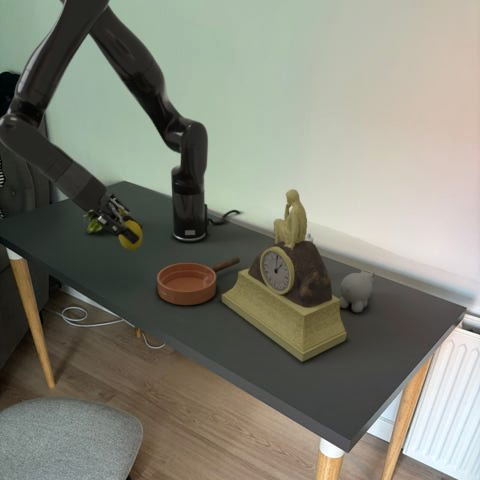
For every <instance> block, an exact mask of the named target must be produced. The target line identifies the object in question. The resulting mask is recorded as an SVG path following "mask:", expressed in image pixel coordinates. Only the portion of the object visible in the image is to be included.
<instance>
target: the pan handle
mask: <svg viewBox="0 0 480 480" xmlns="http://www.w3.org/2000/svg"><path fill="white" fill-rule="evenodd" d="M240 262H241V258H240V257H238V256H234V257H232V258H230V259H227V260H224V261H222V262H220V263H217V264H215V265H212V266H210V267H209V268H211V269H212V270H213V271H214V272H215V273H219V272H221V271H224V270H225V269H228V268H230V267H233V266H236V265H237V264H239V263H240ZM206 272H207V274H208V273H209V272H208V271H206Z"/></svg>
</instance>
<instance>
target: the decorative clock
mask: <svg viewBox="0 0 480 480" xmlns="http://www.w3.org/2000/svg"><path fill="white" fill-rule="evenodd" d="M285 196H286V205H285V210H284V214H283V215H284V216H283V217H284V219H283V218H276V219H274V220H273V236H274V240H275V242H274V243H275V244H273V245H272V246H271V247H269V248H266V249H263V251H262V252H260V253H259V254H258V255H256V257H255V258H254V260H253V261H252V263H251V264H250V267H249V268H246V269H242V270H240V271H238V274H237V280H236V283H235V284H234V286H233V287H232V288H231V289H229V290H228V291H226V292H224V293H221V302H222V303H223V304H224V305H226V306H227V307H228V308H230V309H231V310H232V311H234V312H235V313H236V314H237V315H238V316H240V317H242V319H244V320H245V321H246V322H248V323H250V324H251V325H252V326H254V328H255V329H258V330H259V331H260V332H261V333H263V334H264V335H266V336H267V337H268V338H269V339H270V340H272V341H273V342H275V343H276V344H278V345H279V346H280V347H282V348H283V349H284V350H285V351H286V352H288V353H289V354H291V355H292V356H293V357H294V358H296V359H297V360H299V361H300V362H302V363H303V362H305V361H308V360H309V359H311V358H313V357H315V356H318V355H319V354H321V353H323V352H325V351H327V350H329V349H331V348H333V347H336V346H337V345H339V344H341V343H343V342H345V341H346V339H347V335H348V334H347V333H348V332H347V331H346V328H345V325H344V324H343V321H342V318H341V311H340V308H341V307H340V298H339V297H337V296H335V295H334V294H333V291H332V281H331V279H330V276H329V274H328V270H327V267H326V264H325V262H324V260H323V258H322V256H321V254H320V252H319V249H317V248H318V247H317V246H316V244H315V243H314V242H313V243H312V242H310V241H305V237H307V233H308V231H307V230H308V218H307V212H306V210H305V207H304V205H303V204H302V202H301V200H300V193H299V191H298V190H297V189H294V188H293V189H289V190H288V191H286V192H285ZM290 208H291V209H290Z"/></svg>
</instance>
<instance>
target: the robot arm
mask: <svg viewBox="0 0 480 480" xmlns="http://www.w3.org/2000/svg"><path fill="white" fill-rule="evenodd" d="M110 1H111V0H59V2H60V3H61V5H62V8H61V11H60V13H59V15H58V17H57V18H56V21H55V22H54V24H53V26H52V28H51V29H50V31H48V33H47V34H46V36H44V38H43V39H42V40H41V42H40V43H39V44H38V45H37V46H36V47H35V49H34V50H33V51H32V53H31V54H30V55H29V57H28V59H27V61H26V63H25V65H24V67H23V69H22V72H21V74H20V76H19V78H18V81H17V82H16V85H15V89H14V96H13V98H12V101H11V102H10V104H9V107H8V108H7V111H6V113H5V114H4V115H3V116H1V117H0V142H1V144H3V145H4V146H5V147H6V148H7V149H8V150H10V151H11V152H12V153H13V154H15V155H16V156H18V157H19V158H21V159H22V160H24V161H25V162H26V163H28V164H29V165H31V166H32V167H34V169H36V170H37V172H39V174H41V175H42V176H43V177H45V178H46V179H47V180H48V181H49V182H50V183H52V184H53V185H54V186H55V187H56V188H57V189H58V190H59V192H61V193H62V194H63V195H64V196H65V197H67V198H68V199H69V200H70V201H72V202H73V203H74V204H75V205H76V206H77V207H78V208H80V209H81V210H82V211H83V212H85V213H86V212H89V211H90V210H94V212H95V213H96V214H97V215H98V216H99V218H98V219H97V220H96V222H97V223H98V224H99V225H101V226H102V227H103V228H104V229H105V230H106V231H107V232H109V233H110V234H112V235H113V236H115V237H119V235H123V236H124V237H125V238H126V239H127V240H129V241H130V242H131V243H132V244H135V243H136V242H137V241H138V240H139V236H138V235H137V234H136V233H134V232H133V231H132V230H131V229H130V228H129V227H127V226H126V225H125V223H124V222H126V221H128V220H131V221H134V222H136V223H137V224H138V225H139V226H140V228H141V230H142V229H143V226H142V224H140V222H138V221H137V220H136V219H134V217H132V214H131V213H130V212H131V210H130V208H129V207H127V205H125V203H123V201H122V200H120V198H119V197H117V196H116V195H115V193H113V192H111V193H110V194H109V195H107V194H106V193H107V192H108V187H107V185H105V184H104V183H103V182H102V181H101V180H100V179H99V178H97V177H96V176H95V175H94V174H93V173H91V172H90V171H89V170H88V169H87V168H86V167H85V166H84V165H82V164H81V163H79V162H78V161H77V160H75V159H74V158H73V157H72V156H71V155H69V154H68V153H67V152H66V151H65V150H64V149H62V148H61V147H60V146H58V145H57V144H55V143H54V142H52V141H50V139H49V138H47V137H46V135H44V134H43V133H42V132H40V130H39V129H40V127H41V125H42V122H43V119H44V116H45V114H46V111H47V110H48V108H49V107H50V105H51V103H52V101H53V99H54V97H55V94H56V92H57V90H58V88H59V87H60V84H61V82H62V80H63V77H64V76H65V73H66V72H67V70H68V68H69V67H70V64H71V63H72V61H73V59H74V57H76V54H77V53H78V51H79V49H80V48H81V46H82V44H83V43H84V41H85V40H86V39H87V37H88V36H90V37H91V39H92V41H93V42H94V43H95V45H96V46H97V49H99V51H100V52H101V53H102V55H103V57H104V58H105V60H106V61H107V63H108V64H109V65H110V66H111V68H112V69H113V71H114V72H115V74H116V75H117V77H118V78H119V80H120V81H121V82H122V83H123V85H124V86H125V88H126V89H127V91H128V92H129V93H130V94H131V96H132V97H133V98H134V99H135V101H136V102H137V104H138V105H139V106H140V108H141V109H142V110H143V111H144V113H145V114H146V115H147V116H148V118H149V119H150V121H151V122H152V124H153V126H154V127H155V129H156V132H158V134H159V136H160V138H161V140H162V142H163V143H164V144H165V146H166V147H167V148H168V149H169V150H170V151H172V152H173V153H177V154H179V155H180V163H179V164H178V165H175V166H174V167H172V168H171V170H170V181H171V183H170V184H171V200H172V201H171V202H172V224H173V226H172V228H173V232H172V235H173V238H174V239H175V240H176V241H178V242H183V243H197V242H200V241H203V240H204V239H205V238H206V236H208V234H209V233H208V232H209V231H208V230H209V229H208V227H209V226H210V223H211V224H212V225H222V224H224V223H226V222H227V218H226V217H227V216H229V215H231V214H234V213H236V214H237V215H238V214H241V212H240V210H237V209H232V210H229V211H227V212H226V213H223V215H222V216H221V218H222V220H219V221H214V220H213V219H212V218H210V217H208V204H207V203H206V200H205V199H206V198H205V196H206V195H205V191H206V190H205V176H206V175H205V174H206V172H207V168H208V156H209V154H208V153H209V133H208V131H207V128H206V126H205V125H204V124H203V123H202V122H201V121H197V120H195V119H191V118H189V117H188V118H187V117H184V116H183V115H182V114H181V113H180V112H179V111H178V109H176V107H175V106H174V104H173V103H172V101H171V99H170V98H169V95H168V90H167V82H166V78H165V77H166V76H165V74H164V72H163V70H162V68H161V67H160V64H159V63H158V62H157V60H156V59H155V57H154V56H153V54H152V52H151V51H150V49H148V47H147V46H146V45H145V43H144V42H143V41H142V40H141V39H140V38H139V37H138V36H137V35H136V34H135V33H134V32H133V31H132V29H130V28H129V27H128V26H126V25H125V23H124V22H123V21H121V19H120V18H119V17H118V15H116V13H115V12H114V11H113V9H112V7H111V6H110Z"/></svg>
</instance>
